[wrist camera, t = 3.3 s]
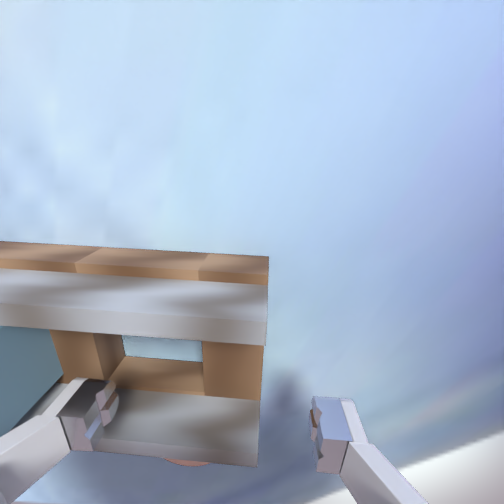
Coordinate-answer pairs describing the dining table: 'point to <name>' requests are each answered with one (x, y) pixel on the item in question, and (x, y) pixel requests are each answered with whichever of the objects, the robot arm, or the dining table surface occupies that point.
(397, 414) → the dining table surface
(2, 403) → the block
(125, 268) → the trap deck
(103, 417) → the robot arm
